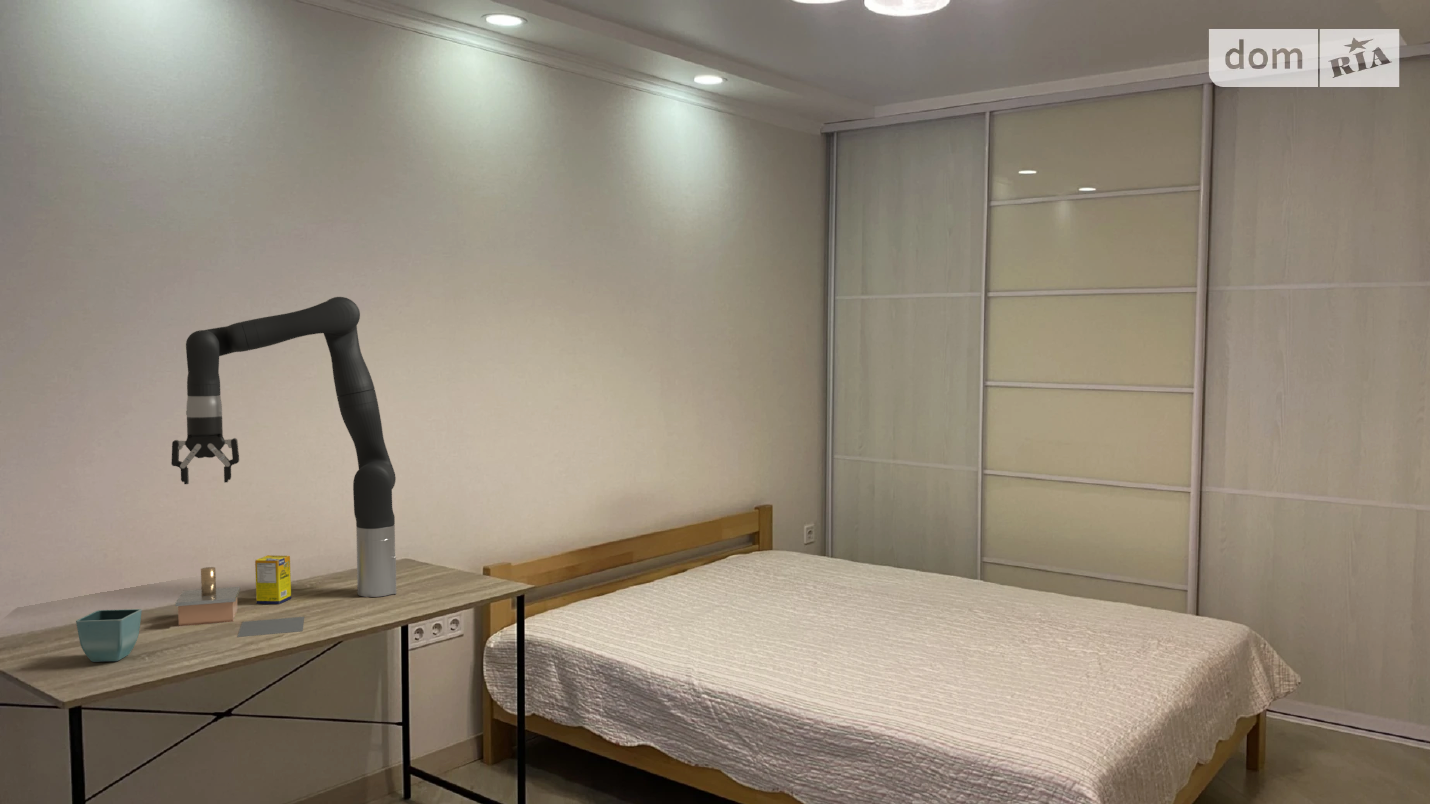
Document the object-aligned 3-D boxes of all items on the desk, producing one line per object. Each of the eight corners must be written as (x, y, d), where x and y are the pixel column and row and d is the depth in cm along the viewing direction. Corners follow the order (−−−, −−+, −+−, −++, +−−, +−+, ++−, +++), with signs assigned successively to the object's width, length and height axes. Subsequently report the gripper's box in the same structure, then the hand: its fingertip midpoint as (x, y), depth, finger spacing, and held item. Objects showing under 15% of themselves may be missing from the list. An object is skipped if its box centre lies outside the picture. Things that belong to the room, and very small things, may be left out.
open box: (237, 611, 243) (237, 590, 242) (233, 623, 232) (232, 601, 232) (185, 615, 239) (185, 594, 239) (178, 627, 229) (178, 605, 228)
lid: (240, 589, 243) (239, 561, 243) (235, 601, 232) (234, 571, 231) (183, 594, 239) (182, 565, 239) (175, 606, 228) (174, 575, 227)
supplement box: (291, 598, 255) (290, 555, 254) (279, 604, 249) (278, 560, 248) (268, 598, 256) (267, 554, 255) (255, 604, 250) (254, 559, 249)
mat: (304, 618, 237) (304, 616, 237) (302, 632, 224) (302, 631, 224) (242, 623, 232) (242, 621, 232) (237, 638, 220) (237, 636, 220)
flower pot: (99, 652, 210) (97, 609, 210) (144, 651, 211) (142, 608, 210) (76, 666, 201) (74, 620, 201) (123, 664, 202) (121, 619, 202)
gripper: (239, 413, 249) (240, 479, 250) (173, 414, 244) (175, 482, 245) (236, 415, 242) (237, 483, 243) (168, 416, 237) (170, 486, 238)
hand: (206, 483), depth 244 cm, fingers open, 8 cm apart
